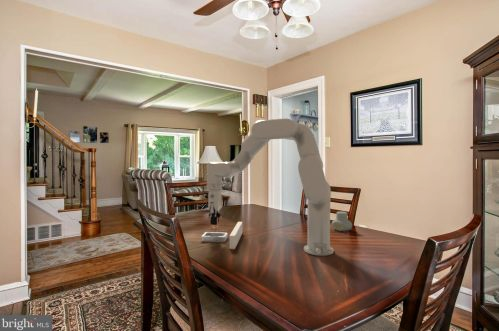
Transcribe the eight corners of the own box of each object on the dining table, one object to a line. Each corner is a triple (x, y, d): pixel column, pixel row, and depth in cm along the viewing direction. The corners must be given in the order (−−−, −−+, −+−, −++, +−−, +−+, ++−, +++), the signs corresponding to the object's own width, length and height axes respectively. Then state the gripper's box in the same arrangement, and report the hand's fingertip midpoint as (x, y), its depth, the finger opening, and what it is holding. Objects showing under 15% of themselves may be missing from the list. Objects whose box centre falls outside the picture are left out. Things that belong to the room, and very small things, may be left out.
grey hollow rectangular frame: (224, 242, 131) (224, 237, 131) (201, 241, 133) (201, 236, 133) (227, 237, 139) (227, 232, 139) (205, 236, 140) (205, 232, 140)
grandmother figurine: (206, 230, 135) (205, 205, 134) (208, 228, 138) (207, 203, 137) (221, 230, 134) (221, 205, 133) (223, 228, 137) (222, 203, 136)
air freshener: (329, 229, 154) (329, 211, 154) (336, 226, 160) (337, 210, 159) (347, 233, 146) (347, 215, 146) (354, 230, 151) (354, 212, 151)
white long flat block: (234, 249, 122) (234, 235, 121) (229, 248, 122) (229, 235, 122) (242, 232, 148) (242, 221, 147) (238, 232, 148) (238, 221, 148)
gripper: (218, 189, 126) (218, 228, 127) (225, 185, 143) (225, 220, 143) (202, 188, 127) (202, 227, 128) (211, 185, 144) (211, 219, 144)
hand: (214, 223), depth 136 cm, fingers closed on grandmother figurine, 3 cm apart
